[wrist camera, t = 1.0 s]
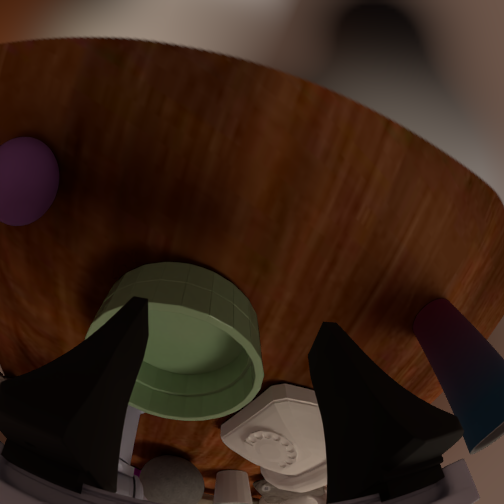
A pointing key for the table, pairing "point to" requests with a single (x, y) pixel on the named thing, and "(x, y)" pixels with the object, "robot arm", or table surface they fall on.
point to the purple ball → (26, 180)
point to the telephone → (282, 437)
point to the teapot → (303, 499)
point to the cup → (464, 371)
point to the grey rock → (281, 492)
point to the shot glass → (232, 488)
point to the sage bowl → (190, 341)
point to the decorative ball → (171, 481)
